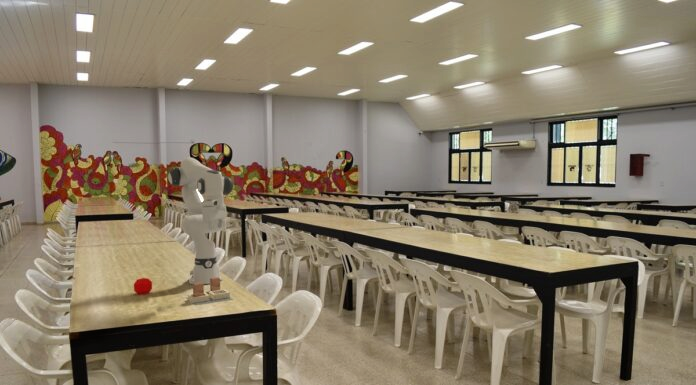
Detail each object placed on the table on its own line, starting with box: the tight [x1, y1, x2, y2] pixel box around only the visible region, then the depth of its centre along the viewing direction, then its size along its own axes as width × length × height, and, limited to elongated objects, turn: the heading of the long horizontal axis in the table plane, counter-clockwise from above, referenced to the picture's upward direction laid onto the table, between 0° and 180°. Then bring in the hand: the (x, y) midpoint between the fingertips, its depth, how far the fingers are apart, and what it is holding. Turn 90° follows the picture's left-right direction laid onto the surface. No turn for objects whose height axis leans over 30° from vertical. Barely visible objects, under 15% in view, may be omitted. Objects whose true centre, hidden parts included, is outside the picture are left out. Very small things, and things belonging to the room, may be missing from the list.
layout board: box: [185, 289, 234, 306], centre depth 236 cm, size 18×18×4 cm
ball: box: [133, 277, 153, 296], centre depth 256 cm, size 8×8×8 cm
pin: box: [192, 282, 205, 297], centre depth 234 cm, size 4×4×8 cm
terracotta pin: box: [209, 277, 221, 292], centre depth 252 cm, size 4×4×8 cm
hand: (215, 228), depth 252 cm, fingers open, 8 cm apart
